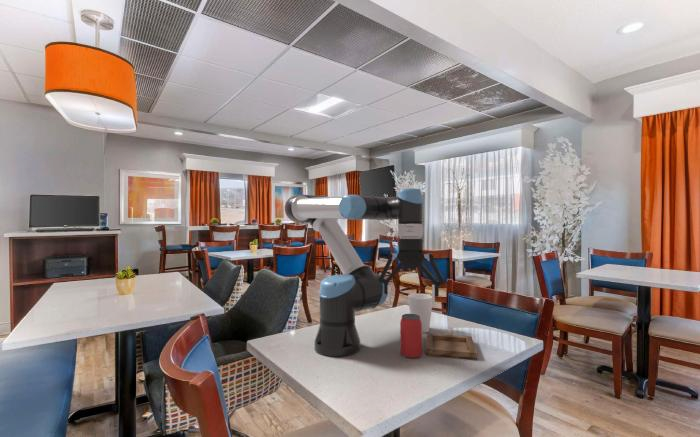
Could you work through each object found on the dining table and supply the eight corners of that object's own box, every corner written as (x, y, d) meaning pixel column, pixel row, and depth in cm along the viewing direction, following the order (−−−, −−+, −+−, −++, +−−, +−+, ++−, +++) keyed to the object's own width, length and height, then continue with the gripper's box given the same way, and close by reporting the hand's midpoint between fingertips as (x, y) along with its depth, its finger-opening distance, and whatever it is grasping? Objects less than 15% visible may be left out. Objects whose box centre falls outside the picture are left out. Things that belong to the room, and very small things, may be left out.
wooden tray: (425, 355, 101) (425, 348, 101) (426, 337, 117) (426, 331, 117) (477, 360, 98) (477, 353, 98) (471, 340, 114) (470, 334, 114)
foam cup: (438, 332, 123) (437, 297, 123) (417, 335, 120) (416, 299, 120) (423, 324, 132) (423, 292, 132) (403, 327, 128) (403, 294, 129)
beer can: (424, 353, 103) (424, 315, 103) (417, 360, 97) (417, 320, 98) (405, 349, 106) (405, 312, 107) (397, 356, 101) (396, 317, 101)
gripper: (369, 238, 102) (369, 306, 101) (452, 238, 96) (453, 311, 95) (373, 237, 109) (374, 301, 109) (451, 237, 103) (452, 304, 103)
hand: (411, 305), depth 102 cm, fingers open, 13 cm apart
